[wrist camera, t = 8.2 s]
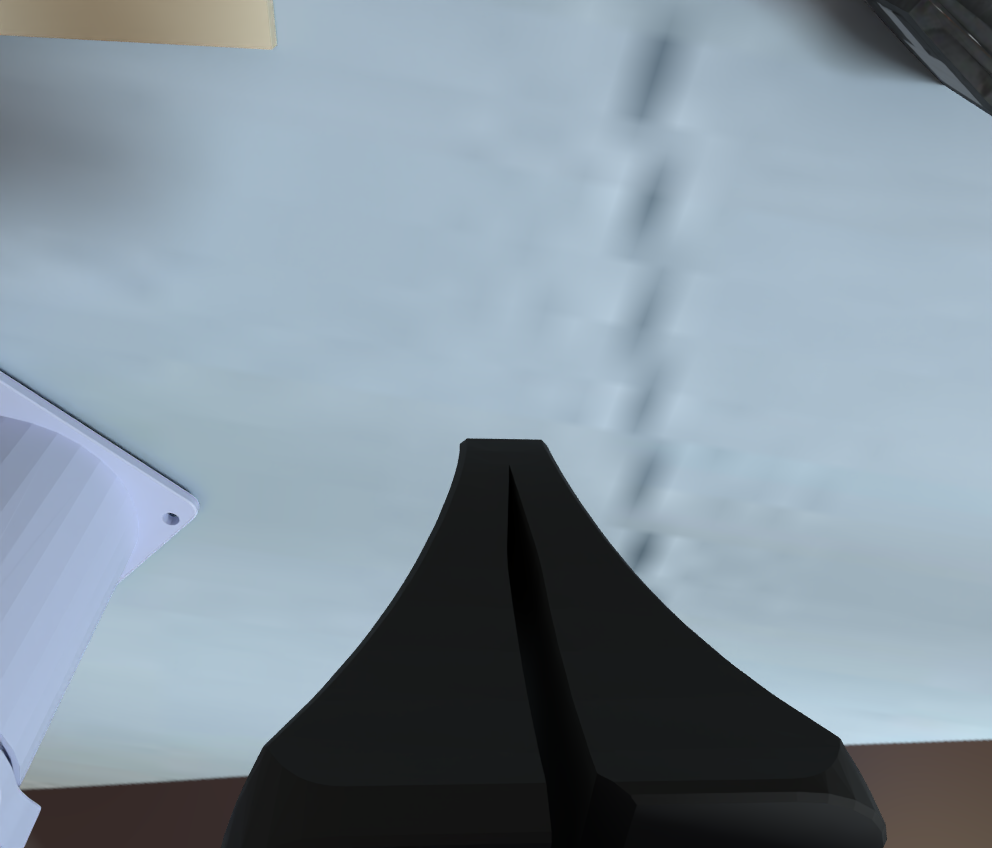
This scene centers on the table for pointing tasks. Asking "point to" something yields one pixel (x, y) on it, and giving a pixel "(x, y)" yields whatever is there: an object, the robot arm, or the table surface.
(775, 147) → the table surface
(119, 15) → the board
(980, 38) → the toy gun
